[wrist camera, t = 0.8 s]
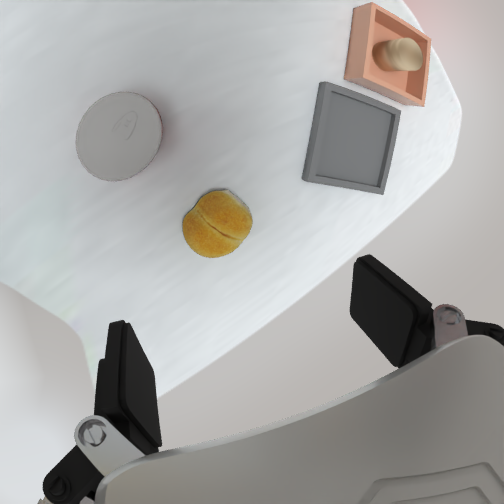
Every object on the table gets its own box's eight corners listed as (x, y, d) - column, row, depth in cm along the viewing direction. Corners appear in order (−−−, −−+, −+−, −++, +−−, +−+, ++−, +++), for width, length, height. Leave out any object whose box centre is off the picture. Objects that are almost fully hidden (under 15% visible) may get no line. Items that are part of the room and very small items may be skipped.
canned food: (171, 108, 31) (175, 104, 22) (149, 170, 34) (144, 192, 24) (113, 92, 28) (92, 82, 18) (92, 155, 30) (65, 171, 21)
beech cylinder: (373, 37, 32) (400, 31, 27) (397, 49, 34) (424, 47, 28) (370, 64, 34) (397, 62, 29) (394, 76, 36) (421, 75, 30)
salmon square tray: (353, 8, 30) (371, 2, 26) (412, 40, 34) (431, 39, 30) (343, 79, 35) (362, 77, 31) (404, 104, 39) (424, 106, 35)
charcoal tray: (319, 82, 34) (326, 81, 33) (393, 109, 39) (401, 110, 37) (301, 178, 40) (307, 181, 38) (376, 191, 44) (383, 194, 43)
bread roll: (171, 230, 38) (172, 243, 34) (215, 178, 37) (221, 184, 33) (217, 263, 42) (223, 277, 39) (259, 216, 41) (269, 226, 37)
